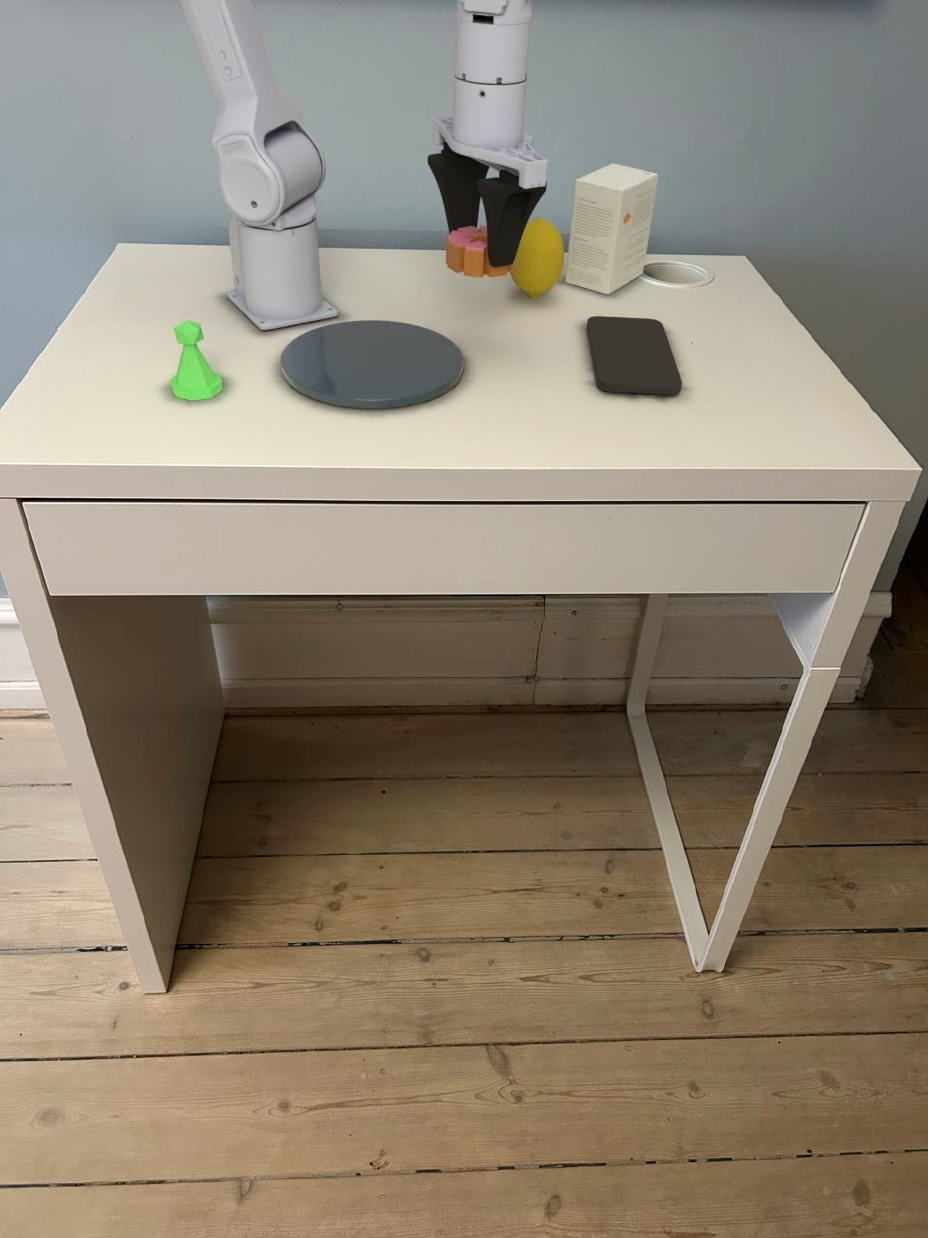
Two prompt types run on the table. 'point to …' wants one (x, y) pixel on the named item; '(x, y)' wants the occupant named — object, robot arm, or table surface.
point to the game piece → (193, 367)
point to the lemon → (538, 258)
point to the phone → (632, 355)
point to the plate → (372, 364)
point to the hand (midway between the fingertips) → (481, 252)
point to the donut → (472, 253)
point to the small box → (610, 227)
